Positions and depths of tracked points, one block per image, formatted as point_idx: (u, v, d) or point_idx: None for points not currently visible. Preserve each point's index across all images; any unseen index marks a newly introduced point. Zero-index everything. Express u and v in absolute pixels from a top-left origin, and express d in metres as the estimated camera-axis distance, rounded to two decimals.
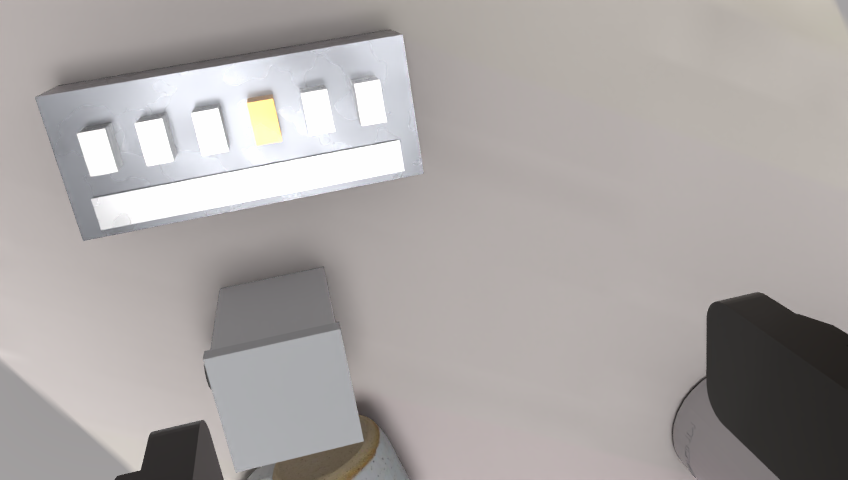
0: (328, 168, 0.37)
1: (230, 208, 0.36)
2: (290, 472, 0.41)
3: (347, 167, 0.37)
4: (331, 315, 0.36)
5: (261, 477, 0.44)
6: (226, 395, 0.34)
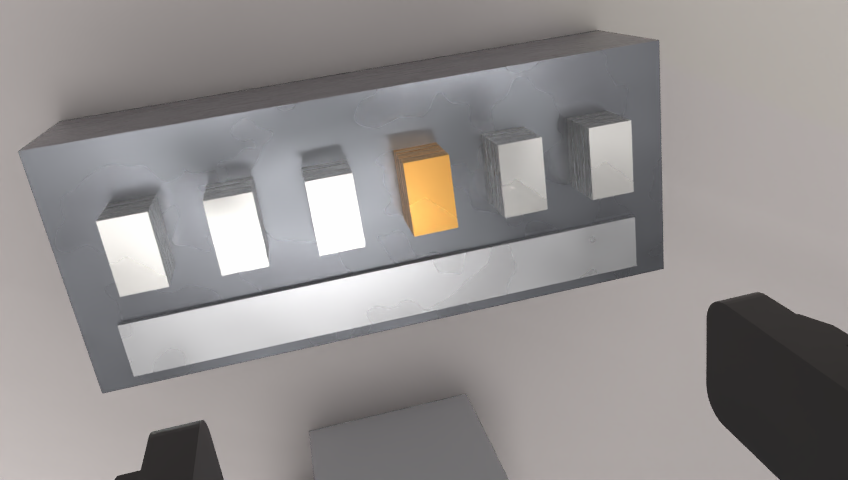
0: (517, 265, 0.22)
1: (352, 332, 0.21)
2: None
3: (548, 262, 0.22)
4: None
5: None
6: None
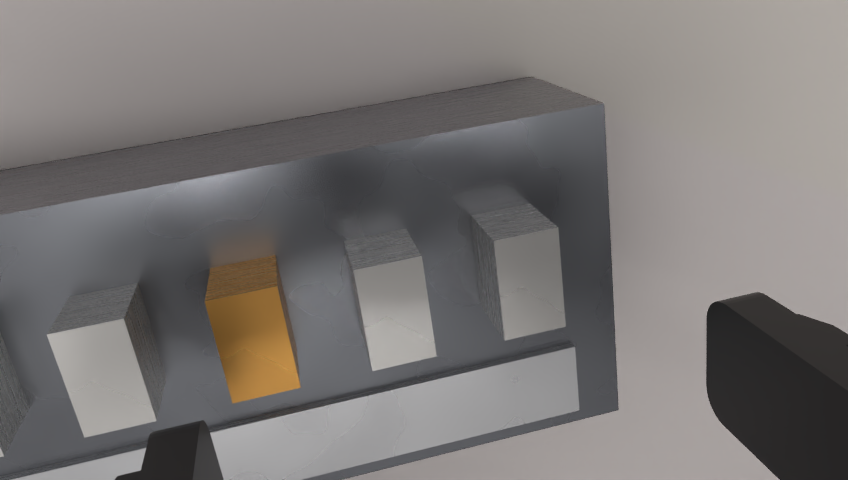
0: (407, 417, 0.15)
1: None
2: None
3: (451, 412, 0.15)
4: None
5: None
6: None
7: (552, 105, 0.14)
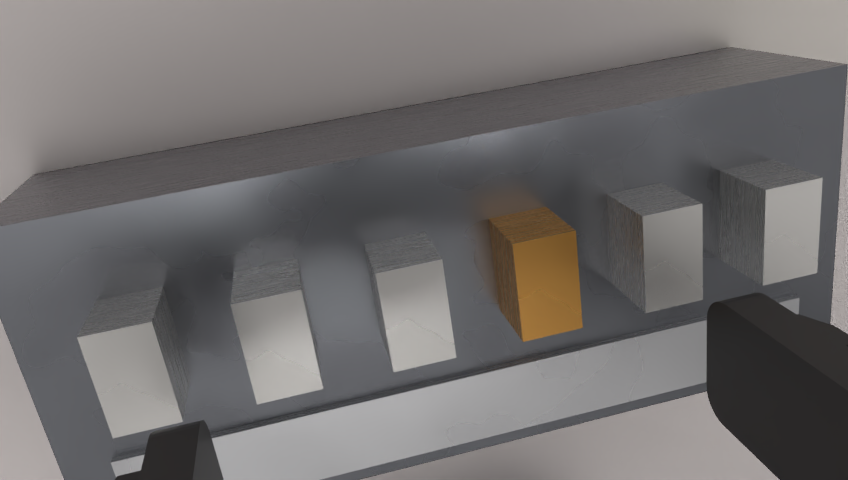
0: (645, 364, 0.16)
1: (425, 456, 0.16)
2: None
3: (684, 359, 0.16)
4: None
5: None
6: None
7: (792, 67, 0.15)
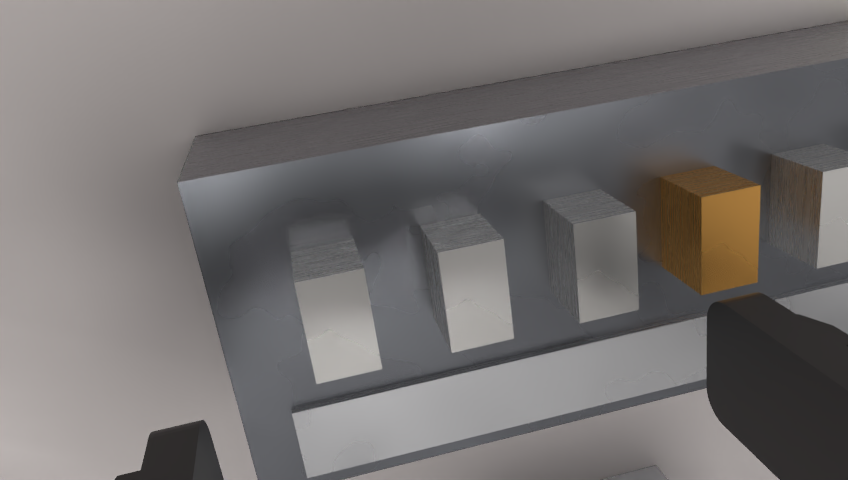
0: None
1: (581, 413, 0.16)
2: None
3: (831, 320, 0.17)
4: None
5: None
6: None
7: None
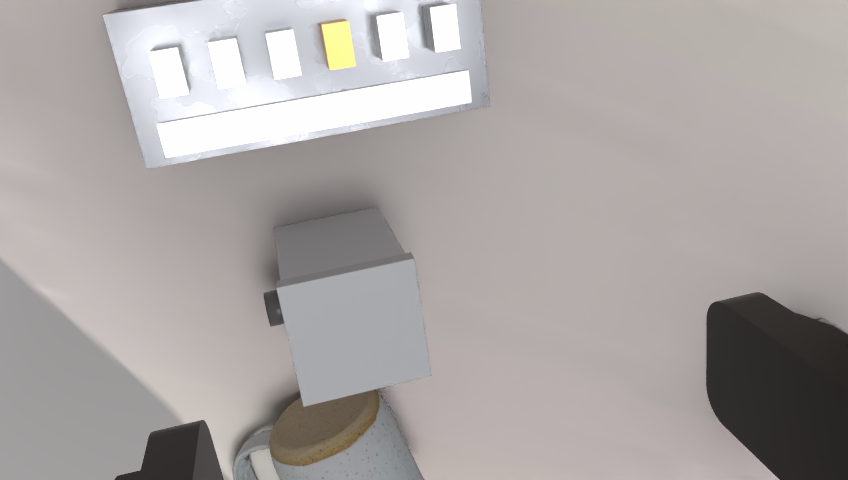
0: (396, 98, 0.36)
1: (296, 138, 0.36)
2: (288, 438, 0.41)
3: (415, 97, 0.36)
4: (399, 247, 0.36)
5: (256, 444, 0.43)
6: (298, 325, 0.34)
7: None
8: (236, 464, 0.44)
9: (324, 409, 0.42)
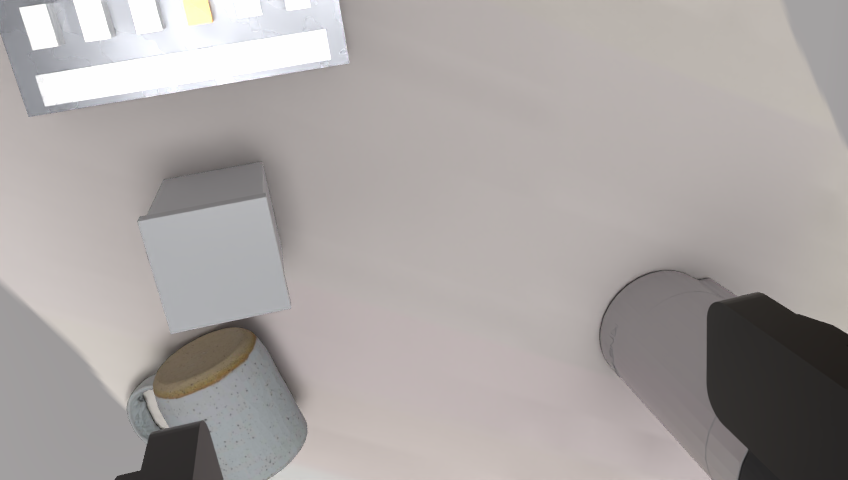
0: (258, 54, 0.39)
1: (167, 90, 0.39)
2: (168, 375, 0.44)
3: (276, 54, 0.40)
4: (261, 190, 0.39)
5: (146, 384, 0.47)
6: (160, 257, 0.37)
7: None
8: (129, 404, 0.47)
9: (205, 351, 0.46)
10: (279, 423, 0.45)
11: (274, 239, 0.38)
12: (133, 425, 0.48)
